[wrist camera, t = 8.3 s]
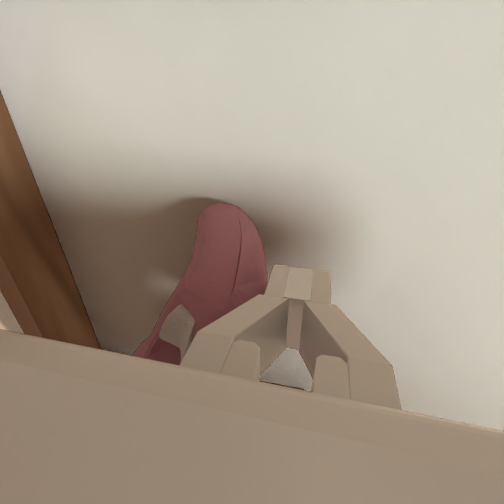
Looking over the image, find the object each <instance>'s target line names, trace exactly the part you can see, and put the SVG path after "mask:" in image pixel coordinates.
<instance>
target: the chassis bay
mask: <svg viewBox="0 0 504 504" xmlns="http://www.w3.org/2000/svg"><path fill="white" fill-rule="evenodd" d="M0 290H1V292H2V294H3V296H4V297H5V299H6V301H7V303H8V305H9V307H10V308H11V310H12V312H13V314H14V316H15V317H16V319H17V321H18V323H19V325H20V326H21V328H22V330H23V332H24V334H26V335H31V336H36V337H41V338H46V339H51V340H56V341H61V342H66V343H71V344H76V345H81V346H86V347H91V348H96V349H101V348H100V346H99V343H98V341H97V338H96V336H95V333H94V330H93V328H92V325H91V323H90V320H89V318H88V315H87V312H86V310H85V307H84V305H83V302H82V300H81V297H80V294H79V292H78V289H77V287H76V284H75V282H74V279H73V276H72V274H71V271H70V269H69V266H68V264H67V261H66V258H65V256H64V253H63V251H62V248H61V246H60V243H59V240H58V238H57V235H56V233H55V230H54V228H53V225H52V223H51V220H50V217H49V215H48V212H47V210H46V207H45V205H44V202H43V199H42V197H41V194H40V192H39V189H38V187H37V184H36V181H35V179H34V176H33V174H32V171H31V169H30V166H29V163H28V161H27V158H26V156H25V153H24V151H23V148H22V145H21V143H20V140H19V138H18V135H17V133H16V130H15V127H14V125H13V122H12V120H11V117H10V115H9V112H8V109H7V107H6V104H5V102H4V99H3V97H2V94H1V91H0ZM264 383H266V382H264ZM269 384H271V383H269ZM274 385H276V384H274ZM279 386H282V385H279ZM284 387H287V386H284ZM289 388H292V387H289ZM294 389H298V388H294ZM299 390H303V389H299Z"/></svg>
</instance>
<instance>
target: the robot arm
mask: <svg viewBox="0 0 504 504" xmlns="http://www.w3.org/2000/svg"><path fill="white" fill-rule="evenodd" d="M285 348H292V349H297V350H299V352H300V354H301V356H302V358H303V360H304V362H305V364H306V366H307V368H308V370H309V372H310V374H311V376H312V378H313V383H312V389H311V392H309V391H304V390H299V389H294V388H289V387H284V386H279V385H274V384H269V383H264V382H260V375H261V374H262V372H263V371H264V370H265V369H266V368H267V367H268V366H269V365H270V364H271V363H272V362H273V361H274V360H275V359H276V358H277V357H278V356H279V355H280V354H281V353H282V352H283V351H284V350H285ZM0 504H504V431H501V430H496V429H491V428H486V427H481V426H476V425H471V424H466V423H461V422H456V421H452V420H447V419H442V418H437V417H432V416H427V415H422V414H417V413H412V412H407V411H402V410H401V405H400V400H399V395H398V391H397V386H396V381H395V376H394V372H393V367H392V365H391V364H390V363H389V362H388V361H387V360H386V358H385V357H384V356H383V355H382V354H381V353H380V352H379V351H378V350H377V349H376V348H375V347H374V346H373V344H372V343H371V342H370V341H369V340H368V339H367V338H366V337H365V336H364V335H363V334H362V333H361V332H360V330H359V329H358V328H357V327H356V326H355V325H354V324H353V323H352V322H351V321H350V320H349V319H348V318H347V316H346V315H345V314H344V313H343V312H342V311H341V310H340V309H339V308H338V307H337V306H336V305H332V304H331V272H330V270H319V269H308V268H301V267H293V266H291V267H290V266H286V265H277V264H275V265H274V266H273V268H272V271H271V274H270V277H269V280H268V283H267V287H266V290H265V293H264V295H261V294H259V295H257V296H256V297H254V298H252V299H251V300H249V301H247V302H246V303H244V304H242V305H241V306H239V307H237V308H236V309H234V310H232V311H231V312H229V313H227V314H226V315H224V316H222V317H221V318H219V319H217V320H216V321H214V322H212V323H211V324H209V325H207V326H206V327H204V328H202V329H201V330H199V331H198V332H197V334H196V336H195V338H194V339H193V341H192V343H191V345H190V347H189V349H188V351H187V352H186V354H185V356H184V358H183V360H182V362H181V363H180V365H175V364H170V363H165V362H160V361H155V360H150V359H145V358H140V357H135V356H130V355H125V354H121V353H116V352H111V351H106V350H101V349H96V348H91V347H86V346H81V345H76V344H71V343H66V342H61V341H56V340H51V339H46V338H41V337H36V336H31V335H26V334H22V333H17V332H12V331H7V330H2V329H0Z"/></svg>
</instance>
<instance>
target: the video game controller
mask: <svg viewBox="0 0 504 504" xmlns="http://www.w3.org/2000/svg"><path fill="white" fill-rule="evenodd" d="M267 283H268V281H267V272H266V263H265V254H264V250H263V246H262V243H261V239H260V236H259V234H258V232H257V229H256V228H255V226H254V224H253V223H252V221H251V220H250V218H249V217H248V216H247V214H246V213H244V212H243V211H242V210H241V209H240V208H238V207H236V206H233V205H230V204H223V203H215V204H212V205H209V206H207V207H206V208H205V209H204V210H203V211H202V212H201V214H200V216H199V219H198V222H197V229H196V237H195V245H194V250H193V255H192V259H191V262H190V264H189V266H188V268H187V270H186V272H185V274H184V275H183V277H182V279H181V280H180V282H179V284H178V285H177V287H176V289H175V291H174V292H173V294H172V296H171V297H170V299H169V300H168V302H167V304H166V305H165V307H164V309H163V311H162V313H161V315H160V317H159V319H158V321H157V323H156V325H155V327H154V330H153V332H152V333H151V335H150V336H149V337H148V338H147V339H146V340H144V341H143V342H142V344H141V345H140V346H139V347H138V348H137V350H136V351H135V352H134V354H133V355H132V356H135V357H140V358H145V359H150V360H155V361H160V362H165V363H170V364H175V365H180V363H181V362H182V360H183V358H184V356H185V354H186V352H187V351H188V349H189V347H190V345H191V343H192V341H193V339H194V338H195V336H196V334H197V332H198V331H199V330H201V329H202V328H204V327H206V326H207V325H209V324H211V323H212V322H214V321H216V320H217V319H219V318H221V317H222V316H224V315H226V314H227V313H229V312H231V311H232V310H234V309H236V308H237V307H239V306H241V305H242V304H244V303H246V302H247V301H249V300H251V299H252V298H254V297H256V296H257V295H259V294H261V295H264V293H265V290H266V287H267Z"/></svg>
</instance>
